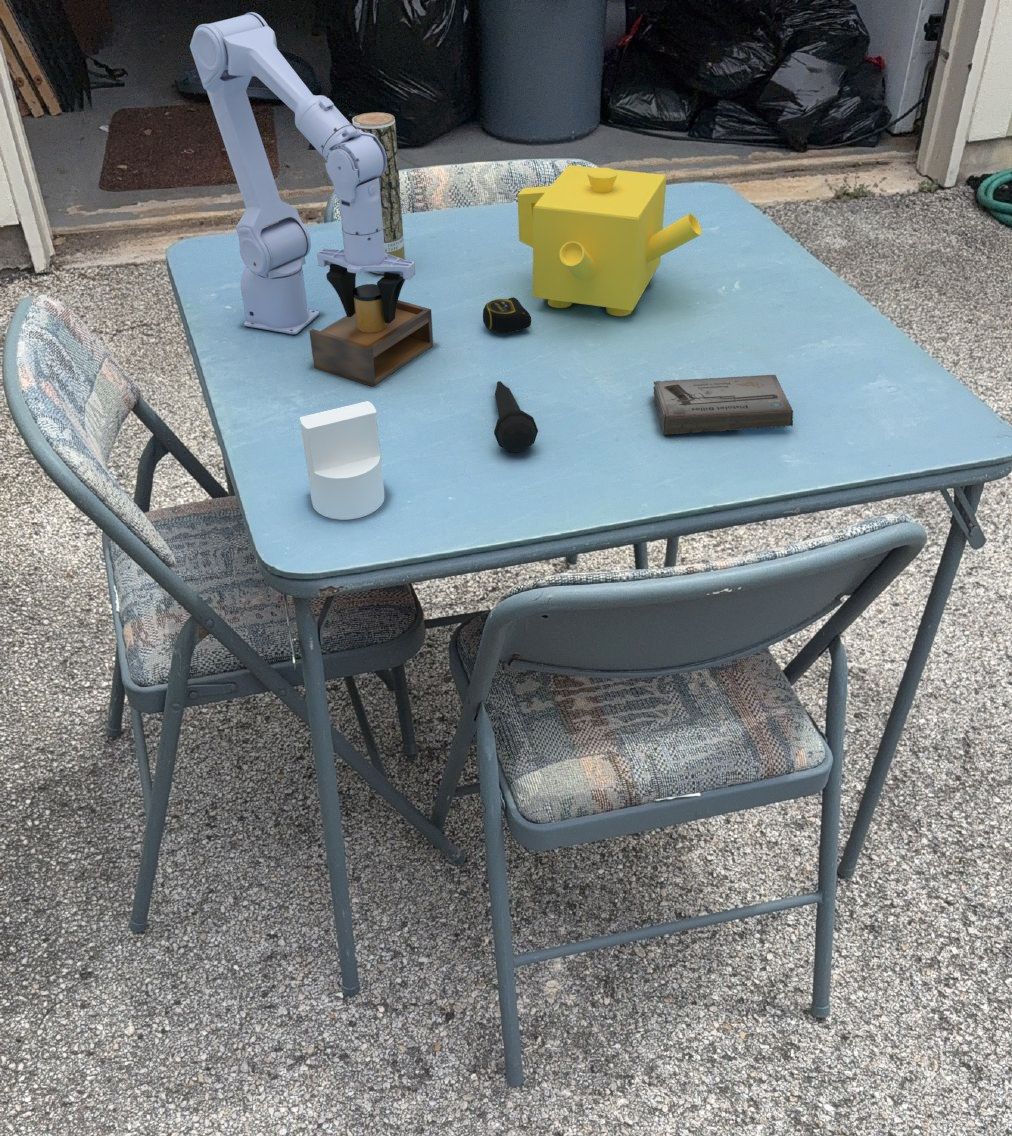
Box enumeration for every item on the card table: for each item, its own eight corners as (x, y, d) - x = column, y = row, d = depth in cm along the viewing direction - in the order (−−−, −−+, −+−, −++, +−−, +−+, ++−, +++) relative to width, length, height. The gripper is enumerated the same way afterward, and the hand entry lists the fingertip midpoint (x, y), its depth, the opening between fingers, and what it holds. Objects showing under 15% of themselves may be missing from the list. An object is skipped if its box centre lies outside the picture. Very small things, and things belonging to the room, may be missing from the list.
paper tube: (413, 265, 197) (403, 116, 181) (389, 279, 192) (377, 128, 177) (382, 257, 200) (369, 110, 184) (358, 270, 195) (343, 121, 180)
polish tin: (350, 330, 166) (346, 294, 163) (364, 317, 170) (361, 282, 166) (379, 335, 165) (375, 299, 162) (392, 321, 168) (389, 286, 165)
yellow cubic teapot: (671, 355, 170) (682, 224, 157) (485, 329, 177) (482, 201, 165) (714, 264, 196) (727, 145, 183) (551, 244, 203) (552, 128, 191)
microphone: (488, 407, 164) (506, 466, 147) (474, 372, 161) (491, 429, 144) (523, 393, 164) (546, 451, 147) (510, 358, 161) (531, 413, 144)
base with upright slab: (325, 527, 136) (313, 441, 129) (302, 489, 143) (290, 406, 135) (395, 508, 139) (387, 423, 132) (370, 471, 146) (361, 389, 138)
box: (792, 430, 151) (795, 409, 149) (663, 436, 151) (664, 416, 149) (775, 392, 160) (777, 372, 158) (652, 398, 160) (653, 378, 158)
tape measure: (532, 334, 176) (533, 311, 173) (490, 340, 174) (490, 318, 172) (518, 315, 181) (518, 293, 178) (477, 322, 179) (477, 299, 177)
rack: (313, 367, 168) (309, 330, 164) (376, 328, 178) (373, 292, 174) (372, 386, 163) (368, 349, 160) (433, 345, 173) (431, 309, 169)
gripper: (302, 231, 157) (314, 321, 166) (397, 244, 153) (404, 336, 162) (326, 213, 163) (336, 301, 171) (418, 226, 158) (424, 315, 167)
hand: (370, 317), depth 167 cm, fingers open, 6 cm apart
